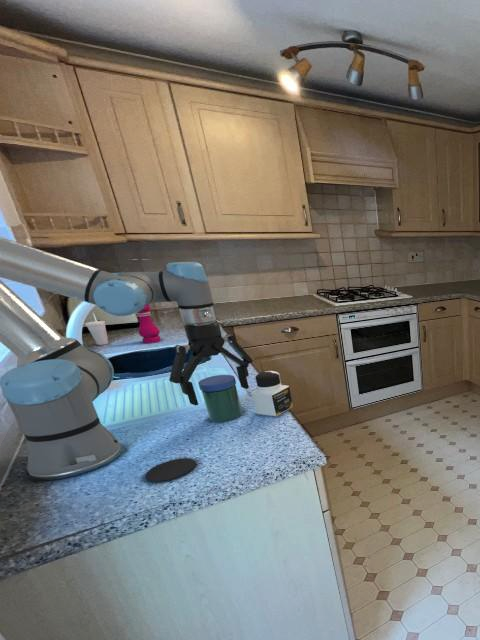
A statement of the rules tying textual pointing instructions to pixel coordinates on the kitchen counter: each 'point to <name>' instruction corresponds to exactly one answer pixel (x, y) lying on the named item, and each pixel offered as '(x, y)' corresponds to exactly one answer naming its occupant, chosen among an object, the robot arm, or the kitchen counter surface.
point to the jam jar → (223, 404)
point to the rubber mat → (170, 470)
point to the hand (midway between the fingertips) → (221, 395)
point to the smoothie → (98, 331)
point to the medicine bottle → (271, 394)
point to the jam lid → (217, 383)
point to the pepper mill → (147, 326)
